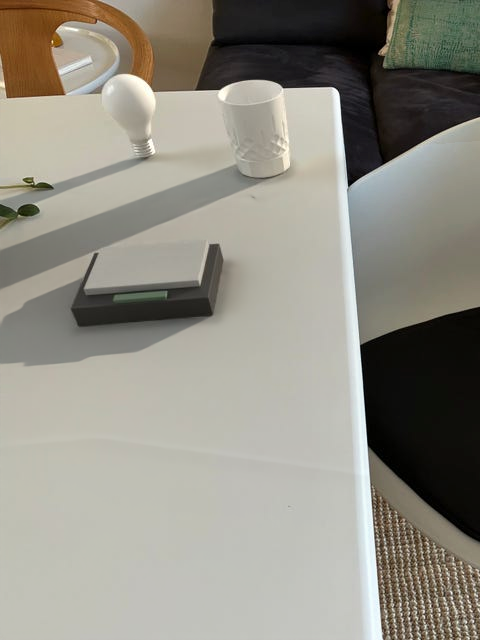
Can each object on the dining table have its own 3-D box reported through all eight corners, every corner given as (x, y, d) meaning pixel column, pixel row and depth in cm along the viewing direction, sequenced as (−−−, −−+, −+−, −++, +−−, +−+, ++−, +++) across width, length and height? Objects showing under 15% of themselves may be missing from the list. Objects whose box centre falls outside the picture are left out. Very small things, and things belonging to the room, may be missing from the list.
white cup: (257, 186, 98) (241, 110, 92) (222, 167, 102) (204, 92, 96) (307, 165, 103) (295, 91, 96) (271, 147, 107) (258, 74, 100)
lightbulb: (179, 148, 106) (157, 68, 99) (156, 170, 102) (131, 87, 94) (136, 144, 107) (111, 64, 100) (111, 166, 102) (84, 83, 95)
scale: (78, 326, 77) (67, 302, 75) (100, 269, 84) (91, 246, 82) (213, 315, 78) (206, 290, 76) (223, 260, 86) (217, 236, 84)
